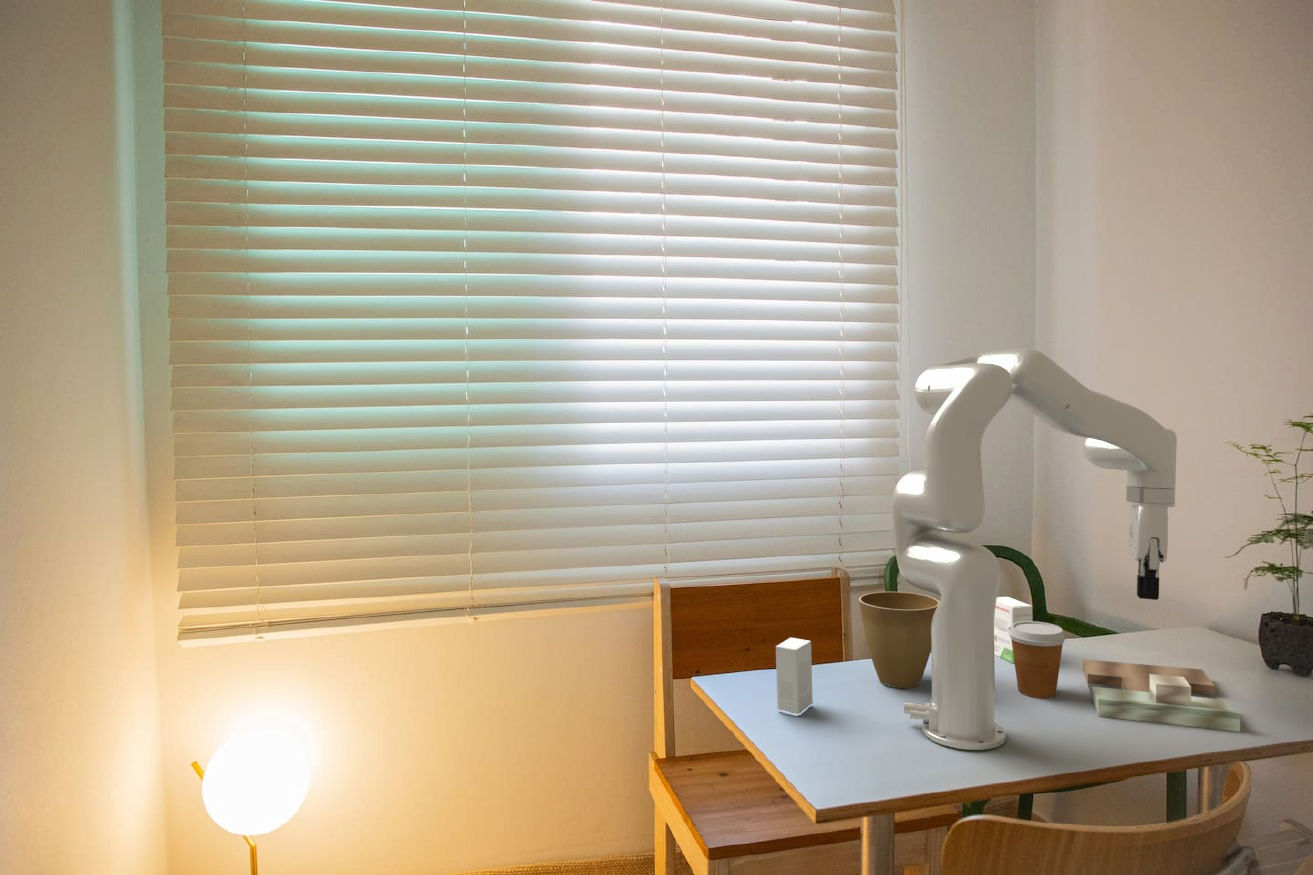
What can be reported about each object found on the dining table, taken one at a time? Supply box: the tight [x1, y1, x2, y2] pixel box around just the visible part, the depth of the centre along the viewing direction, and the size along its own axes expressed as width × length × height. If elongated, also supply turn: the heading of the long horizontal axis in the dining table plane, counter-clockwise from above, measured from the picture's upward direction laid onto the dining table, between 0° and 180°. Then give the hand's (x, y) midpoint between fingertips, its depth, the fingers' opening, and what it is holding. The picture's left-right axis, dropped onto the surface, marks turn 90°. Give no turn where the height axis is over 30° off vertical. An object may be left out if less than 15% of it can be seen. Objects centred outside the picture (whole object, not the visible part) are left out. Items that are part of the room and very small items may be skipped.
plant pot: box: [858, 591, 940, 689], centre depth 156 cm, size 15×15×16 cm
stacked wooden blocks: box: [1082, 658, 1241, 733], centre depth 145 cm, size 20×25×3 cm
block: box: [1150, 674, 1191, 706], centre depth 137 cm, size 5×5×4 cm
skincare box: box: [775, 637, 814, 714], centre depth 144 cm, size 6×4×12 cm
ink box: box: [994, 596, 1034, 665], centre depth 169 cm, size 9×5×12 cm, turn 11°
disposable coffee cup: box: [1008, 620, 1067, 699], centre depth 149 cm, size 10×10×12 cm
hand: (1147, 597), depth 147 cm, fingers closed
